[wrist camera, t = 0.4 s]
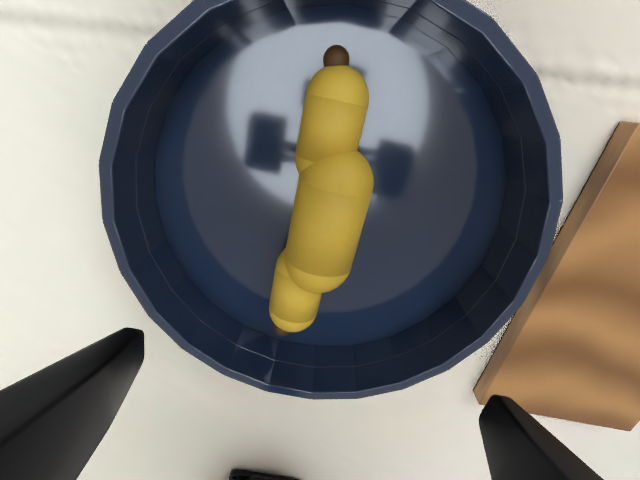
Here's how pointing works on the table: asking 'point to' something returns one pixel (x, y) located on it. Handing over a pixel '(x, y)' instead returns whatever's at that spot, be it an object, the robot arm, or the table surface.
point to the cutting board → (583, 307)
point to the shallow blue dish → (282, 178)
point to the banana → (324, 194)
